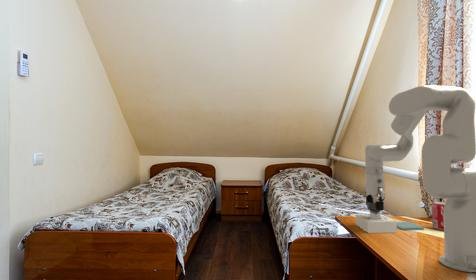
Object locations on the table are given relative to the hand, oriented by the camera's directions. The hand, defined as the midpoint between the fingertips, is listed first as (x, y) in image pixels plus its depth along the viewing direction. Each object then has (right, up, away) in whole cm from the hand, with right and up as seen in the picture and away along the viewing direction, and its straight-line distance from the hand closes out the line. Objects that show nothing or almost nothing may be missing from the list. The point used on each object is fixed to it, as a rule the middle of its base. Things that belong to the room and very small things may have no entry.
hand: (374, 207), depth 139 cm
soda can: (+30, -10, -2) cm, 32 cm away
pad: (+16, -10, +2) cm, 19 cm away
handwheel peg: (0, -10, 0) cm, 10 cm away
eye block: (0, -10, 0) cm, 10 cm away
